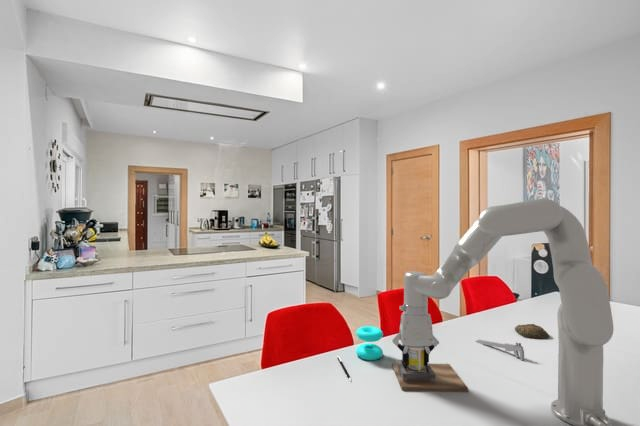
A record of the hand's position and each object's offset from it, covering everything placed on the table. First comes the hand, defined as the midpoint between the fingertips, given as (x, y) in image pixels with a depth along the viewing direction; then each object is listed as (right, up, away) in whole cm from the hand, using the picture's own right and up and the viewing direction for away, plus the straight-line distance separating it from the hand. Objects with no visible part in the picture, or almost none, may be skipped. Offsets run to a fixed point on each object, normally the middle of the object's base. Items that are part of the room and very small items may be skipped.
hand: (415, 363), depth 111 cm
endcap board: (+4, -5, 0) cm, 6 cm away
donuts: (-13, -5, +17) cm, 22 cm away
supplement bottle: (0, -2, 0) cm, 2 cm away
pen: (-23, -5, +7) cm, 25 cm away
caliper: (+39, -5, +23) cm, 46 cm away
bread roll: (+64, -5, +41) cm, 76 cm away
